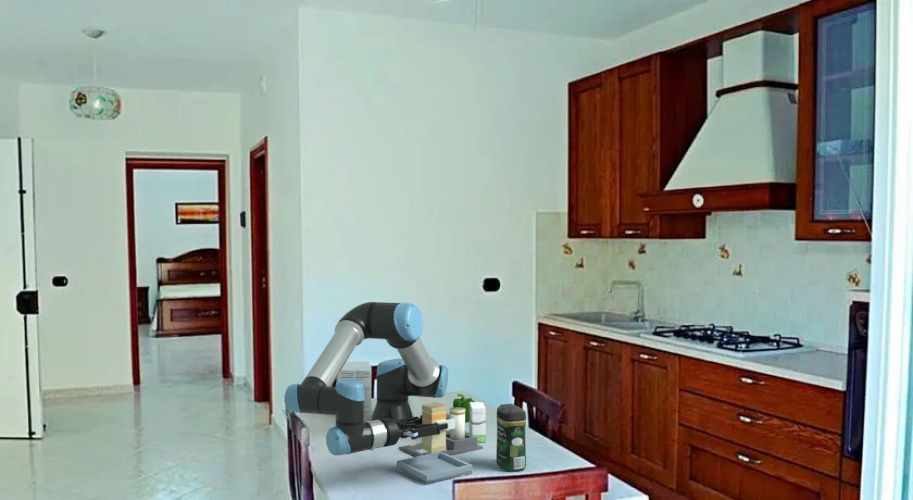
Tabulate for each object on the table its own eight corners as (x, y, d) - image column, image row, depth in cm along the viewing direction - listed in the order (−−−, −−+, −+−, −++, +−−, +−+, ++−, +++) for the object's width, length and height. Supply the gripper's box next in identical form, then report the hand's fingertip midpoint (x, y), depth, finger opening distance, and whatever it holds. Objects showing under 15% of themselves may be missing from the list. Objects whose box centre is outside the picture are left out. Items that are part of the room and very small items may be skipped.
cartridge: (446, 444, 237) (446, 408, 236) (458, 442, 240) (459, 406, 239) (455, 448, 232) (455, 411, 232) (468, 445, 235) (468, 409, 235)
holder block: (399, 448, 232) (399, 439, 232) (454, 437, 245) (454, 428, 245) (425, 461, 219) (425, 451, 219) (482, 448, 233) (482, 439, 233)
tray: (396, 469, 212) (396, 460, 211) (440, 459, 221) (440, 451, 221) (426, 484, 199) (426, 475, 199) (472, 473, 208) (472, 465, 208)
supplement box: (371, 411, 280) (372, 367, 280) (337, 413, 277) (337, 368, 277) (368, 403, 293) (368, 361, 293) (336, 405, 290) (336, 362, 290)
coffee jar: (492, 463, 218) (493, 402, 217) (516, 461, 220) (517, 401, 220) (504, 473, 208) (505, 410, 208) (529, 470, 211) (530, 408, 211)
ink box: (486, 442, 239) (486, 407, 239) (471, 442, 239) (471, 407, 239) (483, 435, 248) (483, 401, 248) (468, 435, 248) (469, 401, 247)
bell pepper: (478, 418, 270) (478, 392, 270) (471, 424, 262) (471, 396, 262) (457, 416, 273) (457, 390, 273) (449, 422, 265) (450, 395, 265)
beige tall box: (421, 448, 210) (421, 404, 210) (436, 445, 213) (436, 402, 213) (431, 453, 206) (431, 408, 205) (446, 450, 209) (446, 405, 209)
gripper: (364, 439, 206) (431, 427, 220) (398, 455, 191) (467, 441, 205) (365, 413, 206) (431, 402, 220) (398, 427, 191) (467, 414, 205)
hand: (448, 421), depth 212 cm, fingers closed on beige tall box, 5 cm apart
